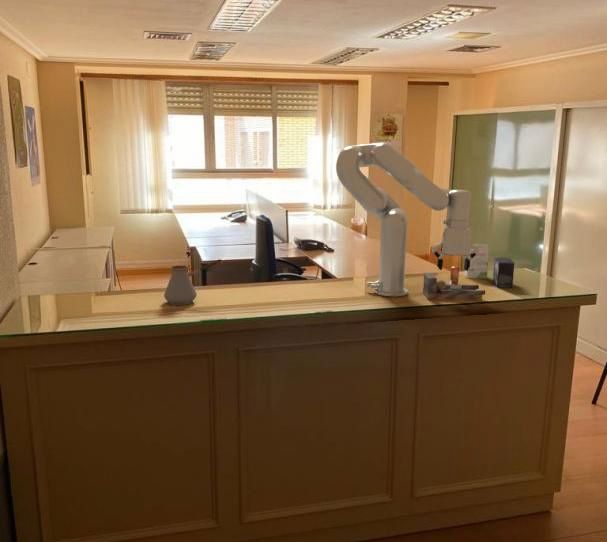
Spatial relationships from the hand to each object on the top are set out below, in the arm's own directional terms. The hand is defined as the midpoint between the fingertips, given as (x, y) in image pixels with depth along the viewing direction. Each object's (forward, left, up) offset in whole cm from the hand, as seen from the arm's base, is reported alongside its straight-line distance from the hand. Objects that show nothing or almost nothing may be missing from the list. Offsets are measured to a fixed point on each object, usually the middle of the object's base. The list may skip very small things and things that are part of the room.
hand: (453, 269), depth 221 cm
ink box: (+18, +31, -11) cm, 37 cm away
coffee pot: (-95, -8, -11) cm, 96 cm away
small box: (+25, +18, -11) cm, 33 cm away
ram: (+1, 0, -8) cm, 8 cm away
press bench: (0, 0, -10) cm, 10 cm away
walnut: (-5, 0, -8) cm, 10 cm away
